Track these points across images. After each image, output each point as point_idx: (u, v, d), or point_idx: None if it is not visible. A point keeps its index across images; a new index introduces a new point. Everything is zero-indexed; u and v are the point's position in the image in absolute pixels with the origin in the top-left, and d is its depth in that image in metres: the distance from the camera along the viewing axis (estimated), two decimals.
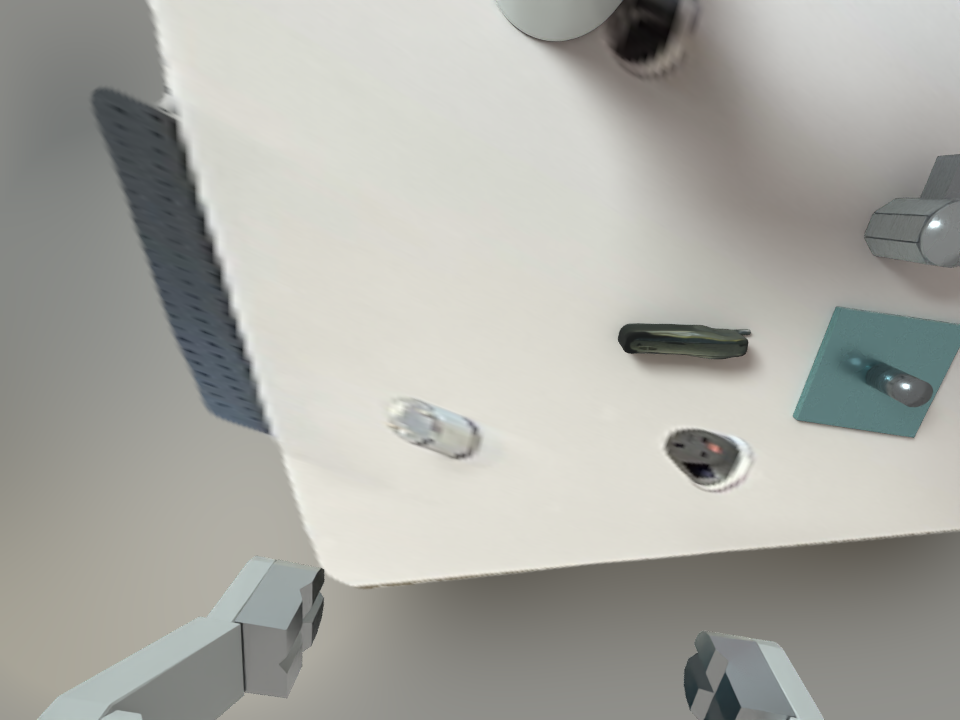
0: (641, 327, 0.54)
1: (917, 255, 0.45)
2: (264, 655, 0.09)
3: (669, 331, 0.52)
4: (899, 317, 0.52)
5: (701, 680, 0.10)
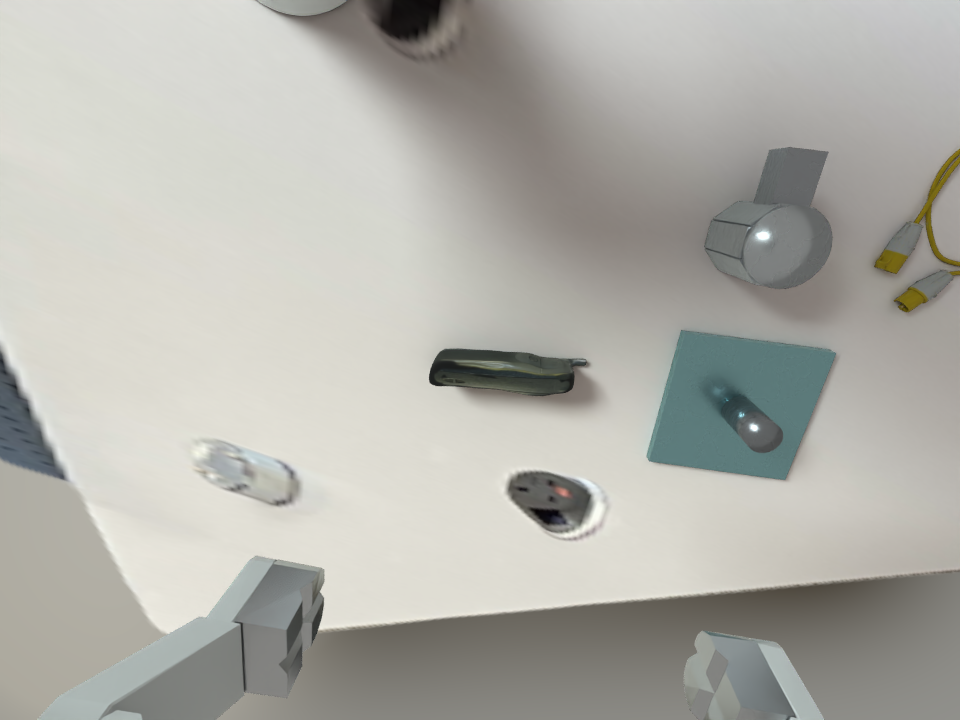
0: (454, 354, 0.45)
1: (745, 273, 0.36)
2: (264, 655, 0.09)
3: (480, 362, 0.43)
4: (753, 343, 0.44)
5: (701, 680, 0.10)
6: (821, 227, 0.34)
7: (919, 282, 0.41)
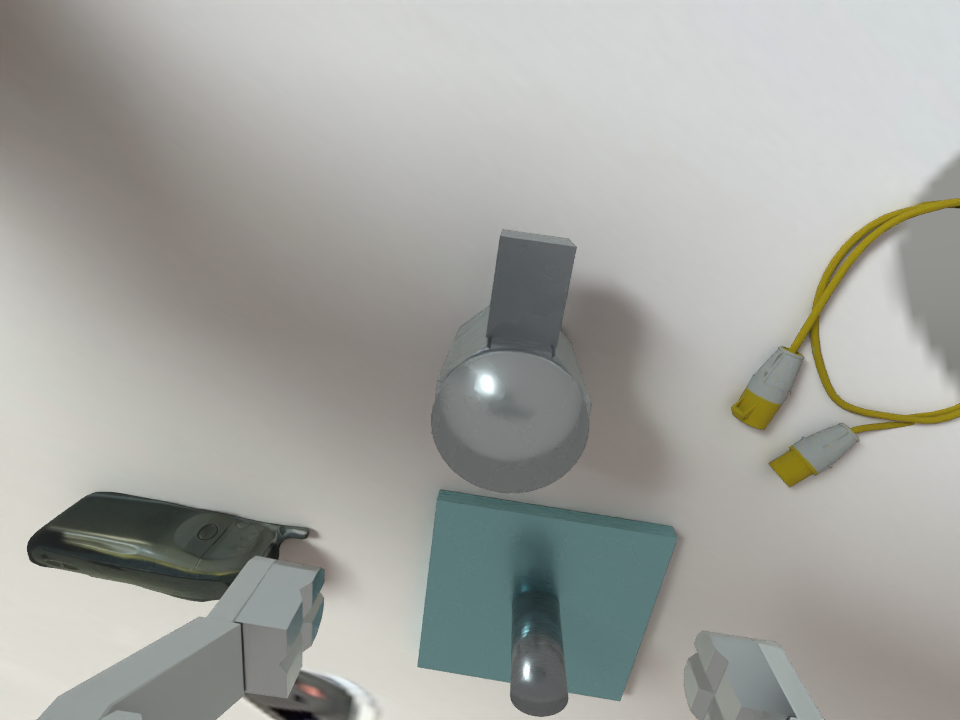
0: (87, 512, 0.28)
1: None
2: (264, 655, 0.09)
3: (104, 539, 0.27)
4: (545, 518, 0.27)
5: (701, 680, 0.10)
6: (564, 394, 0.17)
7: (805, 441, 0.25)
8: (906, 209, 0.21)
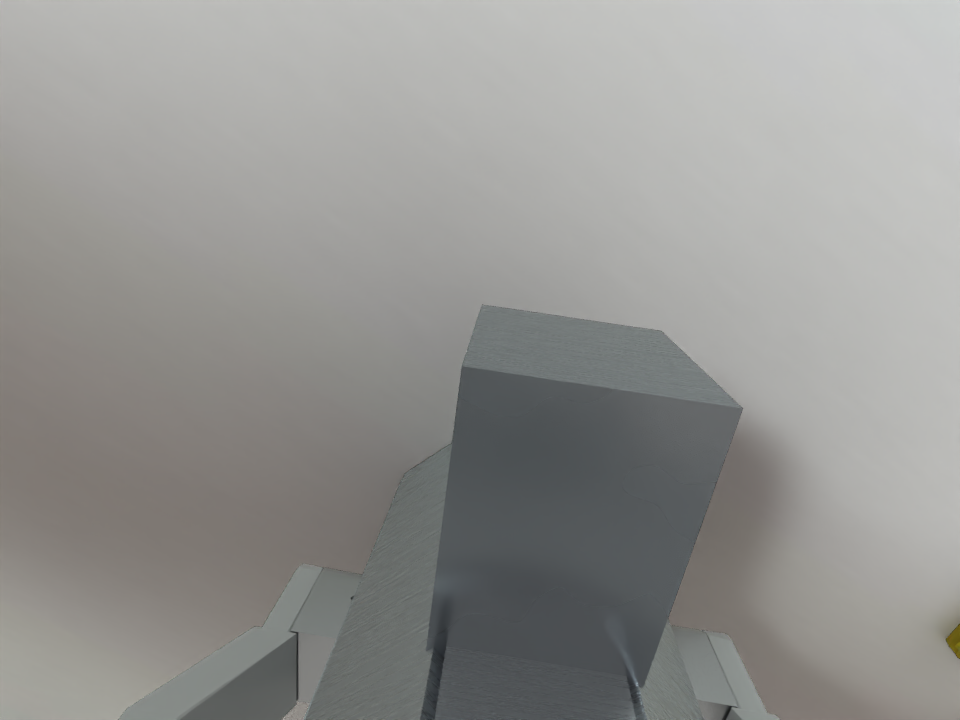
0: None
1: None
2: (318, 664, 0.09)
3: None
4: None
5: None
6: None
7: None
8: None
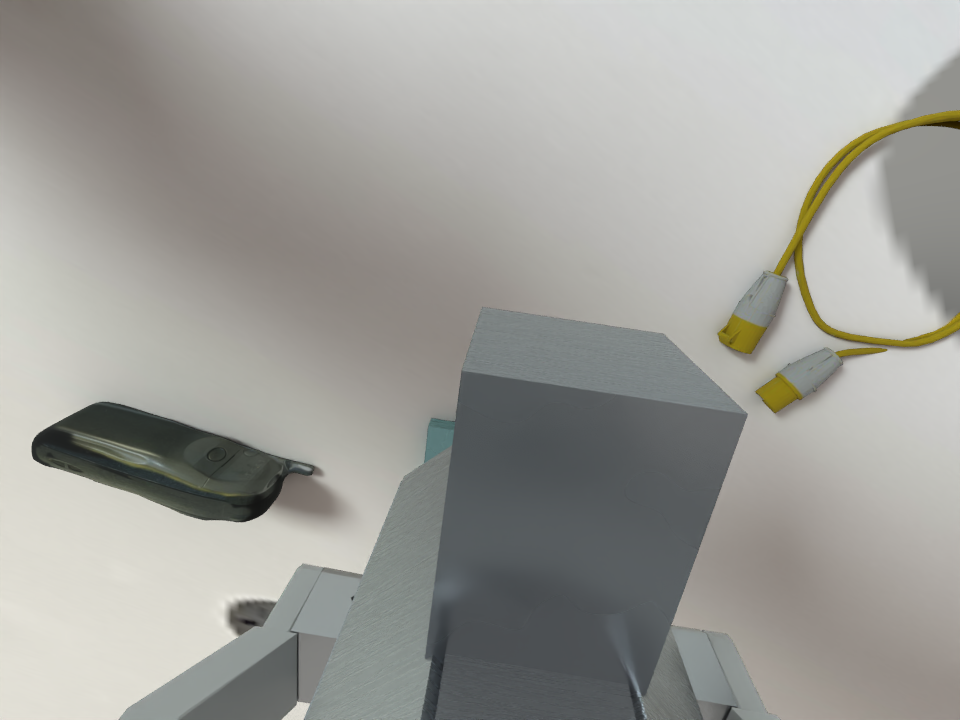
0: (96, 418, 0.28)
1: None
2: (319, 664, 0.09)
3: (114, 446, 0.27)
4: None
5: None
6: None
7: (790, 366, 0.25)
8: (886, 127, 0.21)
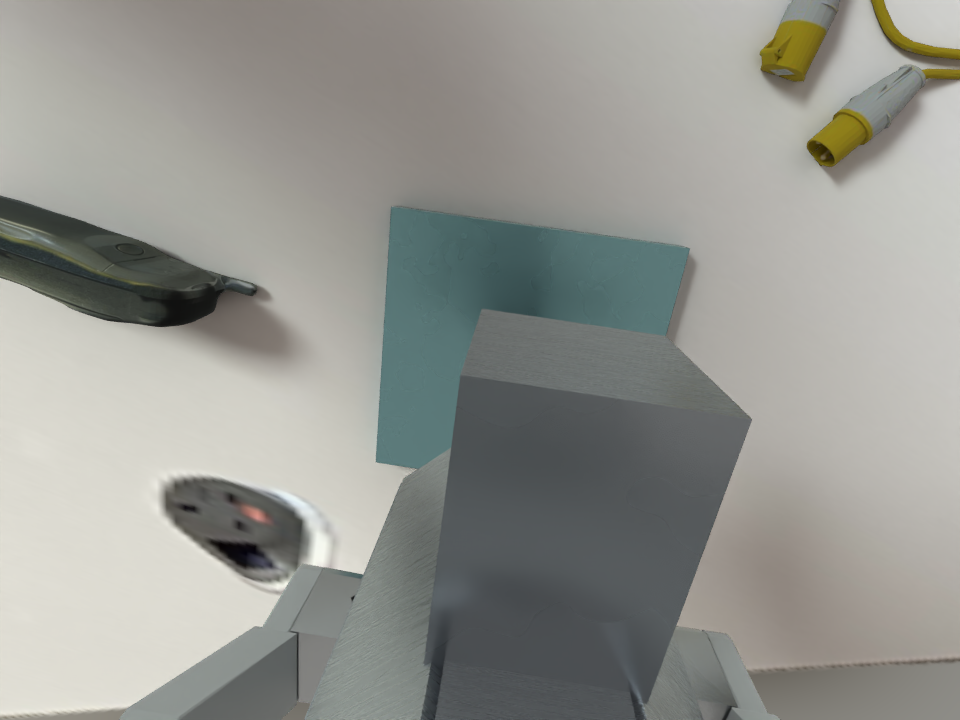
0: None
1: None
2: (319, 664, 0.09)
3: None
4: (526, 227, 0.22)
5: None
6: None
7: (855, 97, 0.20)
8: None
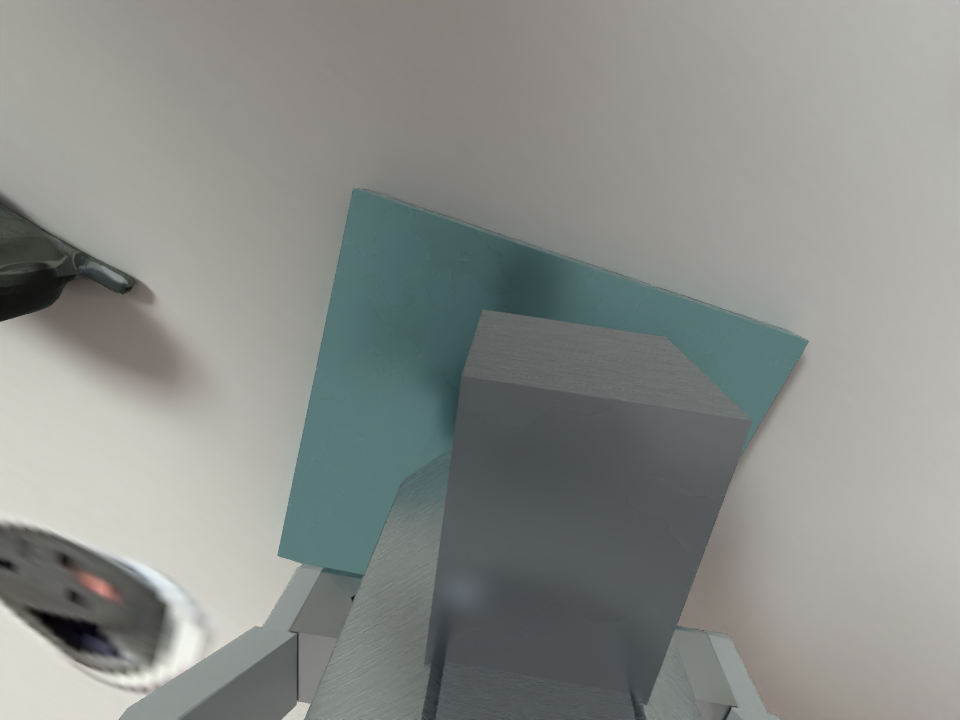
0: None
1: None
2: (319, 664, 0.09)
3: None
4: (564, 262, 0.14)
5: None
6: None
7: None
8: None
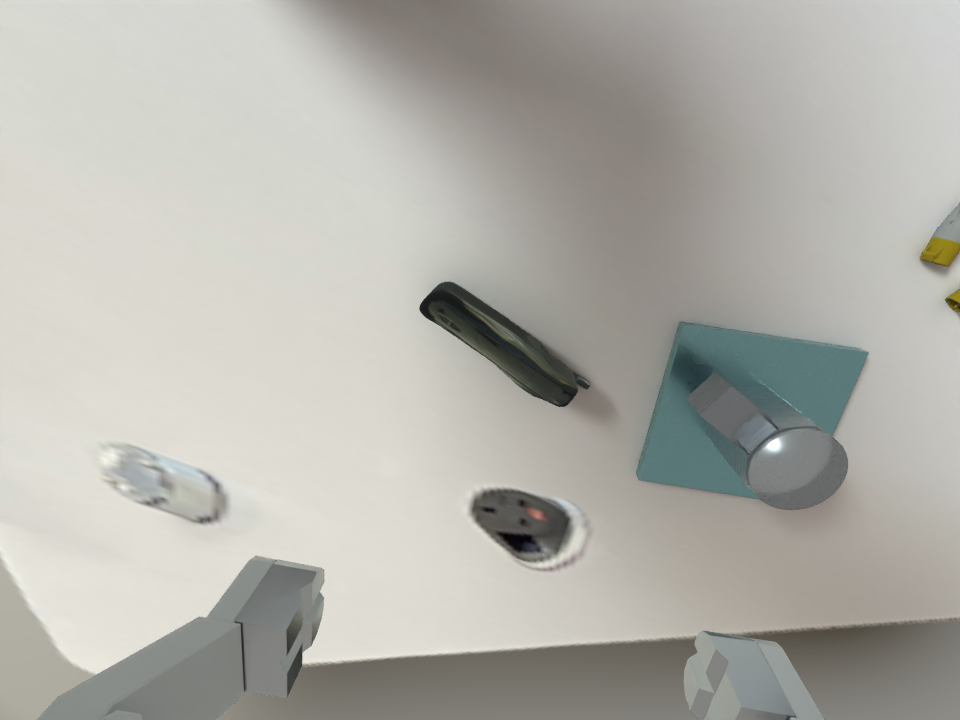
0: (463, 294, 0.35)
1: None
2: (264, 655, 0.09)
3: (490, 319, 0.34)
4: (767, 338, 0.36)
5: (701, 680, 0.10)
6: (804, 438, 0.30)
7: None
8: None
